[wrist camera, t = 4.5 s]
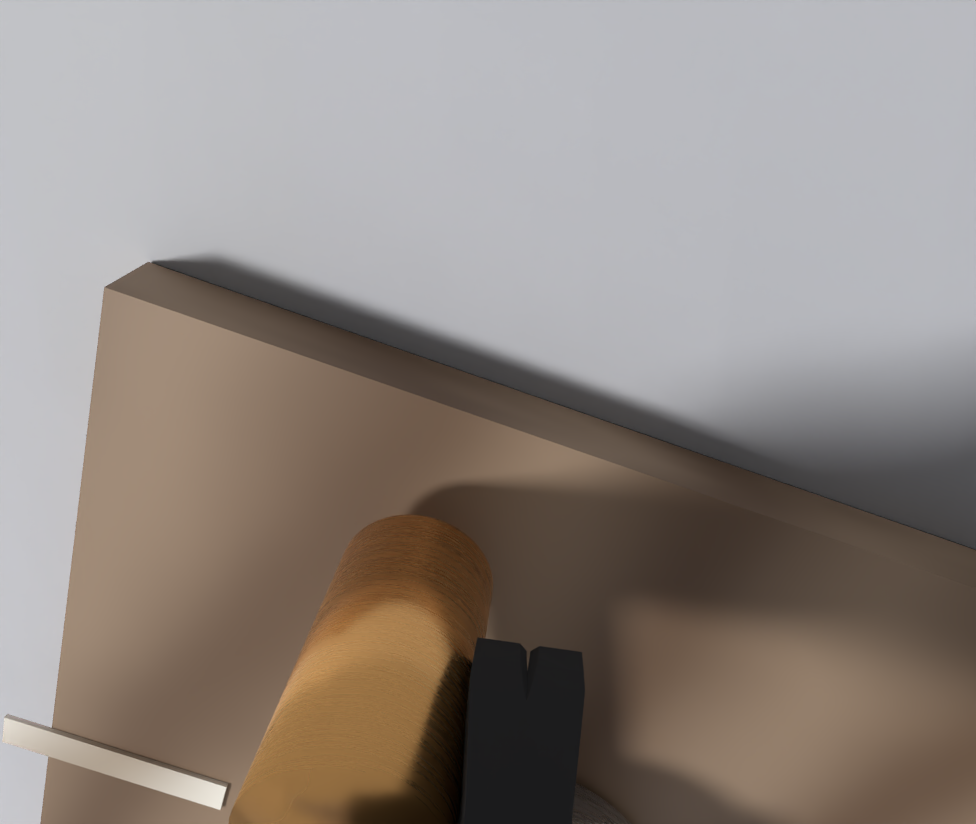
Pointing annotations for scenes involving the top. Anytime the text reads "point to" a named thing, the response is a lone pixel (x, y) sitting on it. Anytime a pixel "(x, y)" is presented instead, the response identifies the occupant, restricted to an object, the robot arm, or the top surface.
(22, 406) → the top surface
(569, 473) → the plain tan brown board
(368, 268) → the top surface
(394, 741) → the crank handle wheel
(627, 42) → the top surface
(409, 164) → the top surface
